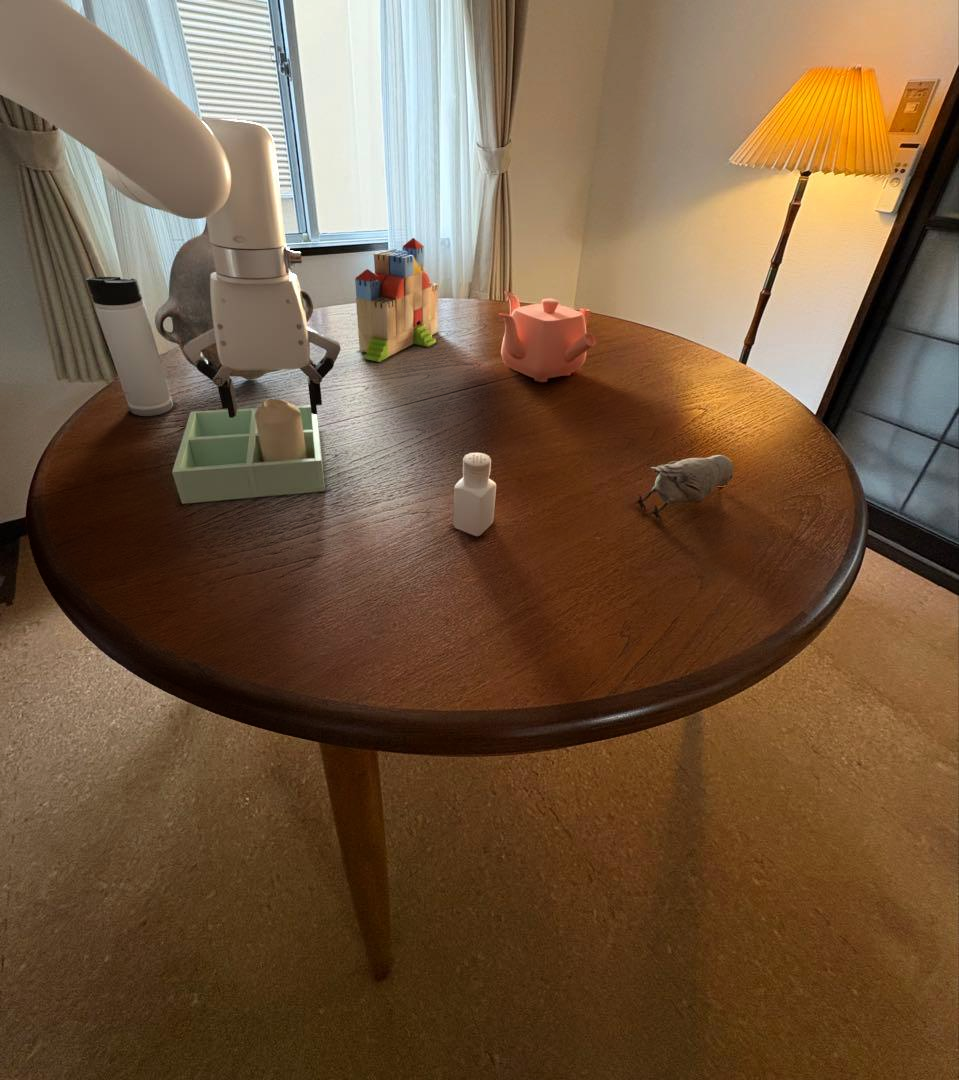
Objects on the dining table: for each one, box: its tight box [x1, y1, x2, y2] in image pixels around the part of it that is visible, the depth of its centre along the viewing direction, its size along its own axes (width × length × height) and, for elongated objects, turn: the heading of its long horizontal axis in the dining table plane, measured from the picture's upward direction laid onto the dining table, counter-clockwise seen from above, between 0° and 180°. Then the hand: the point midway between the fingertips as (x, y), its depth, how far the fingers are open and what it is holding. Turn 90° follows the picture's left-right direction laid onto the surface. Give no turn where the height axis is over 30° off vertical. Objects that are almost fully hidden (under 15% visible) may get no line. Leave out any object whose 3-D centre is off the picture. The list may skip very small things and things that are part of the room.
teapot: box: [498, 290, 597, 383], centre depth 110 cm, size 18×18×14 cm
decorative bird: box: [633, 454, 735, 522], centre depth 75 cm, size 5×16×7 cm, turn 122°
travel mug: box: [85, 276, 174, 417], centre depth 84 cm, size 6×7×20 cm
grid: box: [171, 404, 326, 505], centre depth 77 cm, size 17×17×5 cm
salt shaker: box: [452, 452, 497, 537], centre depth 67 cm, size 4×4×10 cm
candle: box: [255, 398, 307, 462], centre depth 73 cm, size 6×6×10 cm
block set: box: [354, 237, 439, 363], centre depth 118 cm, size 28×14×19 cm, turn 155°
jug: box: [154, 221, 314, 381], centre depth 93 cm, size 24×21×30 cm
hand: (274, 411), depth 70 cm, fingers open, 9 cm apart
